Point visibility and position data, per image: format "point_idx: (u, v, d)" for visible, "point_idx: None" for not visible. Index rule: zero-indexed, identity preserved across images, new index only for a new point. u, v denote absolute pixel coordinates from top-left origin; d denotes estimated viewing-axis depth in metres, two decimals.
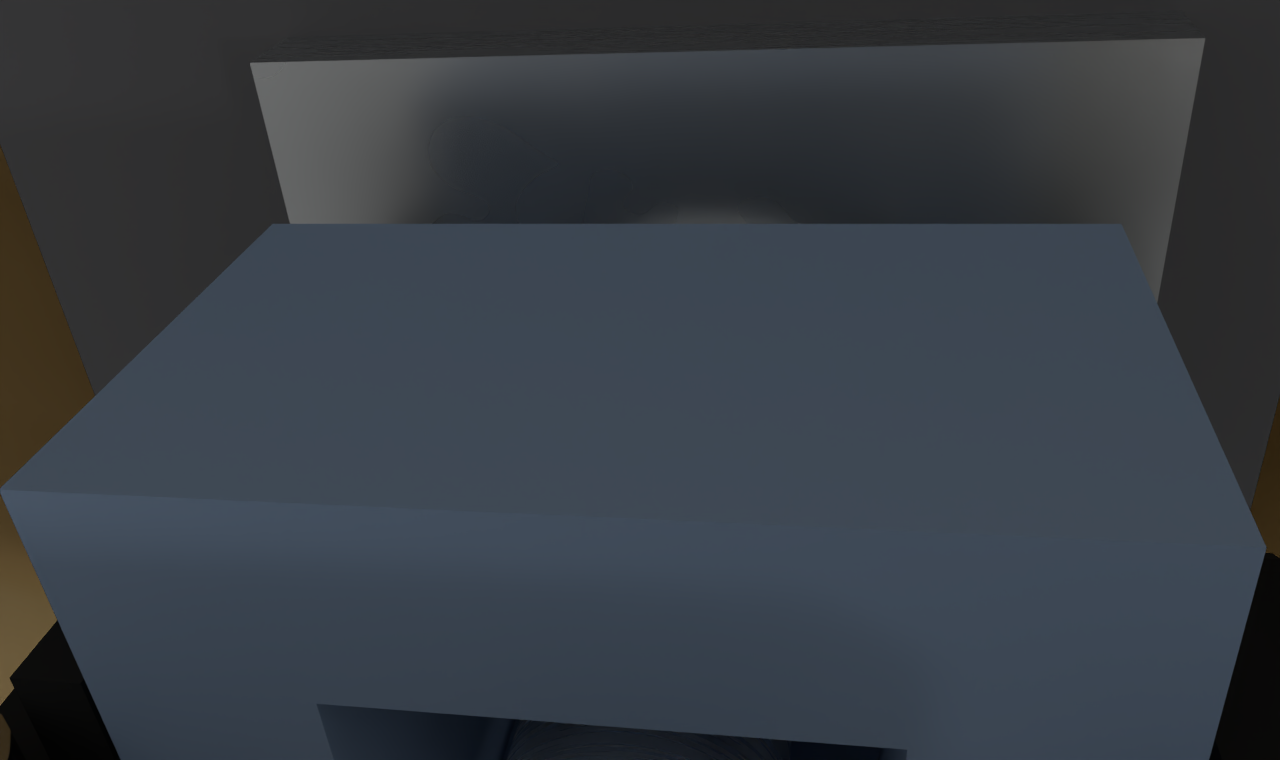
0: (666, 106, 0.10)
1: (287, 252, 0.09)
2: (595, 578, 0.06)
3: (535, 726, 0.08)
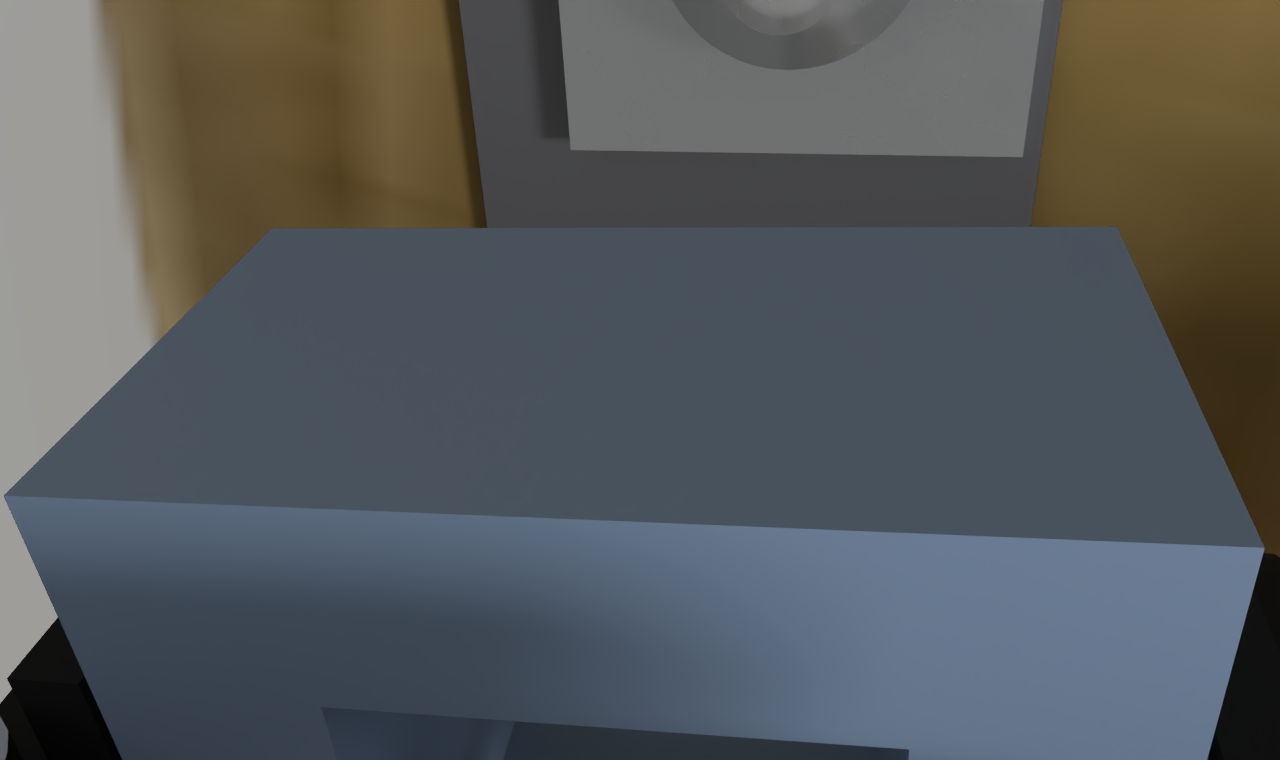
0: None
1: (288, 256, 0.09)
2: (600, 580, 0.06)
3: None
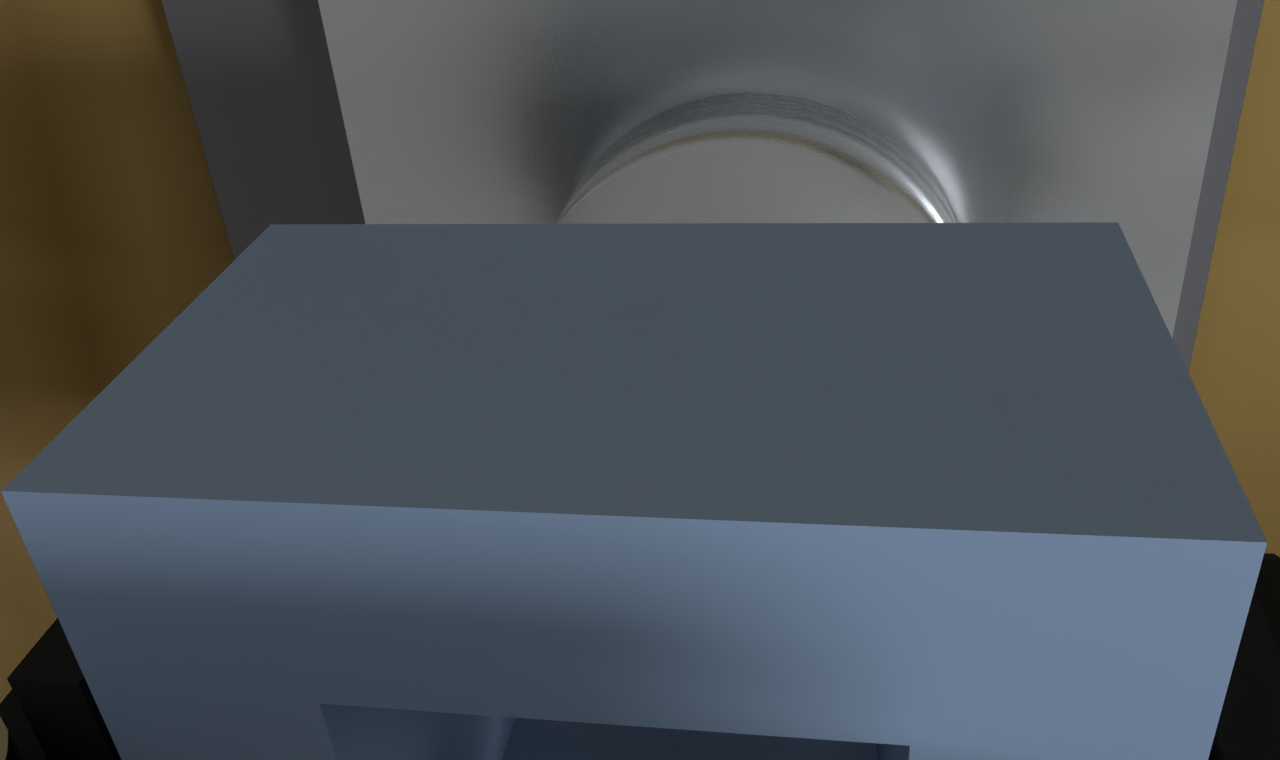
0: None
1: (286, 253, 0.09)
2: (599, 576, 0.06)
3: None
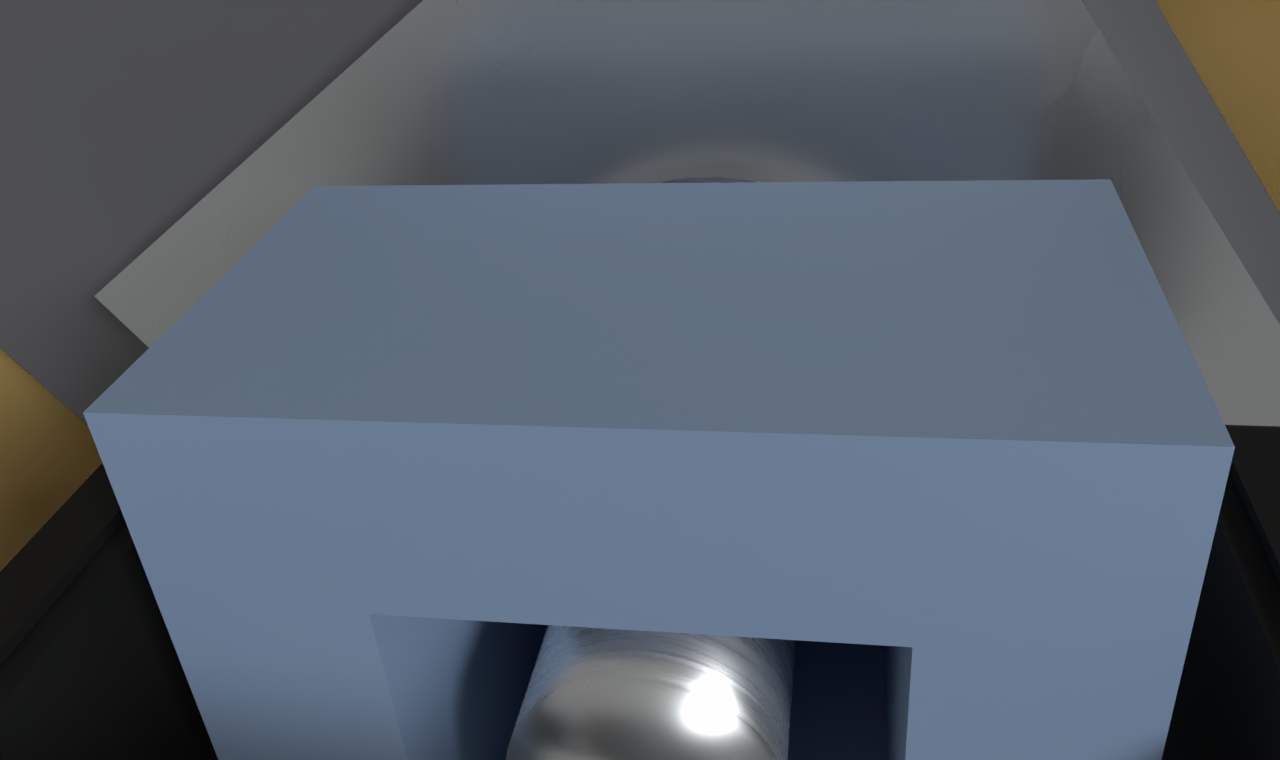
0: None
1: (331, 211, 0.09)
2: (629, 488, 0.07)
3: None
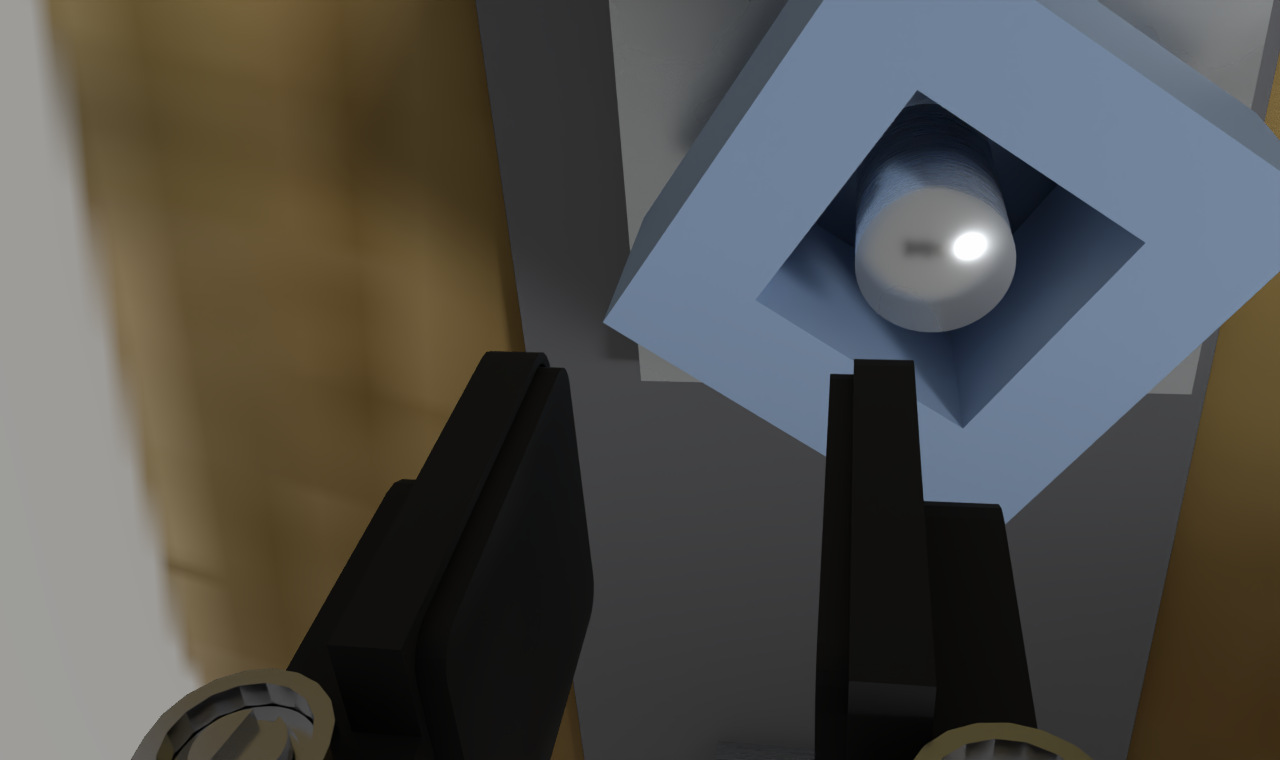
0: None
1: None
2: (1105, 96, 0.13)
3: None
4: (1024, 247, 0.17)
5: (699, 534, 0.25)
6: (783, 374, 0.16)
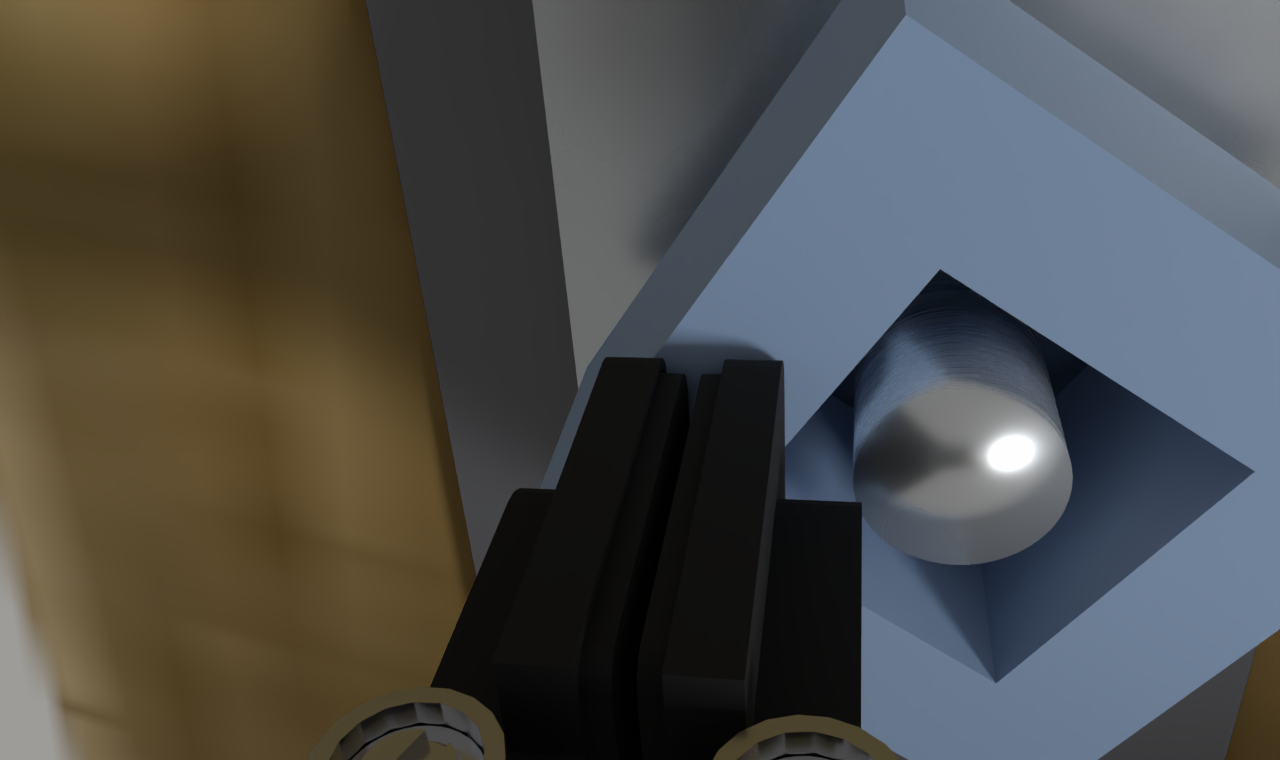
0: None
1: None
2: (1207, 285, 0.09)
3: None
4: (1072, 422, 0.13)
5: None
6: None
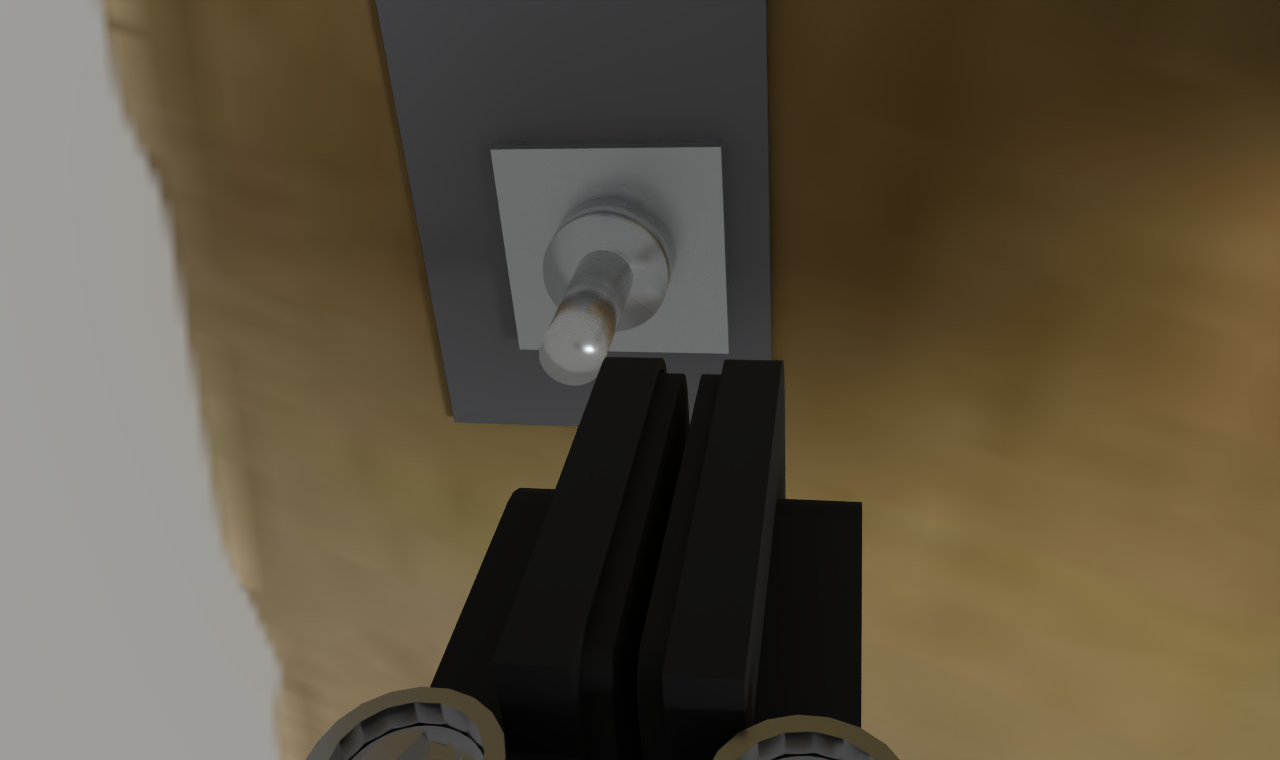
0: (597, 161, 0.40)
1: None
2: None
3: (566, 293, 0.37)
4: None
5: None
6: None
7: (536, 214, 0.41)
